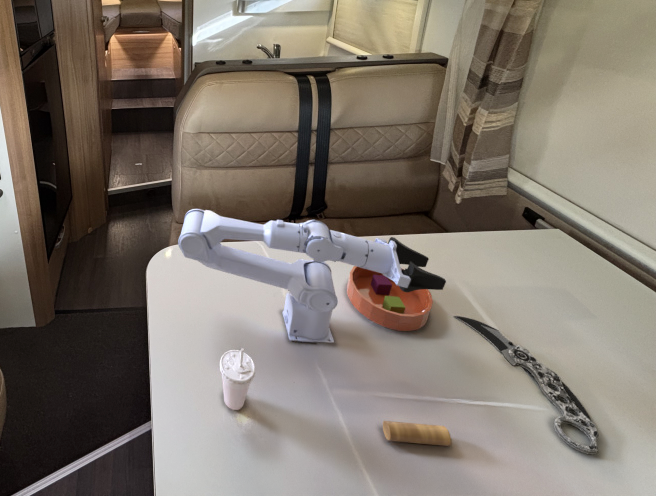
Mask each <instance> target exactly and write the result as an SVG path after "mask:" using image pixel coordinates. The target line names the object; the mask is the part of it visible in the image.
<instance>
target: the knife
mask: <svg viewBox="0 0 656 496" xmlns="http://www.w3.org/2000/svg"><path fill="white" fill-rule="evenodd" d="M453 317H454V318H456V319H457V320H458V321H461V322H463V323H464V324H466V325H467V326H469V327H470V328H472V329H473V330H474V331H476V332H477V333H478V334H480V335H481V336H482V337H483V338H484V339H486V340H487V341H489V343H491V344H492V346H494V348H495V349H496V350H497V351H498V352H499V353H501V354H502V356H503V357H504V359H506V361H507V362H508V363H509V364H510V365H512V366H513V367H514V366H519V367H522V368H523V369H524V370H525V371H526V373H528V374H529V375H530V377H532V379H533V380H535V382H536V384H538V386H539V388H540V390H541V391H542V393H543V394H544V396H545V397H546V398H547V399H548V400H549V401H550V402H551V403H552V404H553V405H554V406H555V407H556V408H557V409H558V410H559V411H560V413H561V414H562V415H561V416H558V417H556V418H555V420H554V422H553V428H554V430H555V432H556V434H557V435H558V436H559V438H560V439H562V441H563V442H565V443H566V444H567V445H568V446H570V447H571V448H573V449H574V450H576V451H579V452H580V453H584V454H587V455H595V454H597V452H598V451H599V450H598V444H597V440H598V439H599V436H600V433H599V431H598V428H597V425H596V424H595V423H594V422H593V420H592V418H591V416H590V415H589V413H588V412H587V410H586V408H585V407H584V405H583V404H582V402H580V400H579V399H578V397H577V396H576V395H575V394H574V392H573V391H572V390H571V389H570V388H569V387H568V386H567V384H566V383H564V382H563V381H562V378H561V377H560V375H558V374H557V373H556V372H555V371H553V370H552V369H550V368H548V367H547V366H545V365H544V364H543V363H542V362H540V361H539V360H538V359H536V358H535V357H534V355H533V354H531V352H530V351H529V350H528V349H526V348H525V347H523V346H521V345H520V344H514V343H513V342H512V341H511V340H509V339H508V338H507V337H506V336H505V335H503V333H502V332H501V331H500V330H499V329H497V328H495V327H492V325H488V324H486V323H484V322H482V321H480V320H477V319H473V318H471V317H467V316H460V315H453ZM551 387H552V388H553V389H552V388H551ZM554 389H555V390H554ZM561 400H562V401H563V402H562V401H561ZM562 424H567V425H571V426H573V427H575V428H577V429H579V430H580V431H581V432H582V433H584V435H586V437H587V438H588V439H589V441H590V445H584V444H580V443H579V442H576V441H575V440H573V439H571V438H570V437H569V436H568V435H567V434H566V433H565V432H564V431H563V429H562V427H561V425H562Z"/></svg>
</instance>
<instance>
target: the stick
mask: <svg viewBox="0 0 656 496" xmlns="http://www.w3.org/2000/svg"><path fill="white" fill-rule="evenodd" d="M382 431H383V435H384V437H385V439H386V441H388V442H399V443H411V444H423V445H433V446H443V447H444V446H445V447H450V446H451V445H452V438H451V434H450V431H449V430H448V428H447V427H446V426H444V425H439V424H437V425H436V424H426V423H415V422H402V421H393V420H392V421H390V420H383V422H382Z"/></svg>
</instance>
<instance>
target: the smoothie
mask: <svg viewBox="0 0 656 496" xmlns="http://www.w3.org/2000/svg"><path fill="white" fill-rule="evenodd" d="M219 371H220V373H221V380H222V391H223V401H224V404H225V406H226V407H228V409H230V410H232V411H239V410H242V408H243V407H244V404H245V401H246V398H247V395H248V392H249V389H250V385H251V383H252V381H253V380H254V379H255V377H256V376H255V375H256V365H255V362H254V360H253V359H252V357H251V356H250V355H249V354H247V353H246V352H245V349H244V348H243V347H241V348H240V350H239V349H229V350H227V351H226V352H224V353H223V354H222V355H221V357H220V361H219Z"/></svg>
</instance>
